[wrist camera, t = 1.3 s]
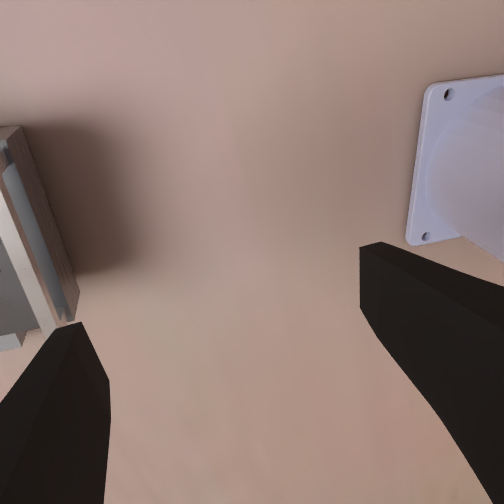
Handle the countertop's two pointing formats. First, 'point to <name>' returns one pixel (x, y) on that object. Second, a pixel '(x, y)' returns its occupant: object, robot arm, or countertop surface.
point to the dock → (12, 340)
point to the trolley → (30, 247)
